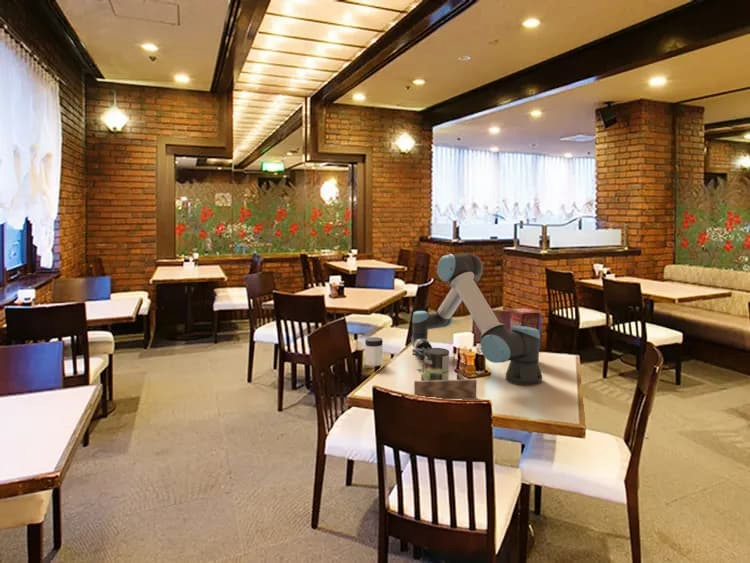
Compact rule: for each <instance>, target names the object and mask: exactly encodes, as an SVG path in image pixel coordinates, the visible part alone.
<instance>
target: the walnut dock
mask: <svg viewBox="0 0 750 563" xmlns="http://www.w3.org/2000/svg"><path fill="white" fill-rule="evenodd" d="M420 375H421V377H420V378H421V379H420V380H414V381H413V382H414V385H413V387H414V389H413V391H414V394H413V396H414V395H417V396H425V397H436V398H454V399H476V398H477V382H478V381H477V378H474V379H473V378H471V379H470V378H469V379H468V378H467V379H466V378H465V377H464V376H463V374H462V373H461V372H457V373H456V379H448V380H428V379H427V377H426V375H425V373H422V374H420Z"/></svg>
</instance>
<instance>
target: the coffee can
mask: <svg viewBox="0 0 750 563" xmlns="http://www.w3.org/2000/svg"><path fill="white" fill-rule="evenodd" d="M424 352H425V359H424V374H425V375H426V377H427V379H428V380H449V369H450V368H449V366H450V365H449V364H450V362H449V360H450V350H449V349H446V348H443V347H432V348H428V349H426V350H425V351H424Z"/></svg>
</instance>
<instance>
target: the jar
mask: <svg viewBox="0 0 750 563" xmlns="http://www.w3.org/2000/svg"><path fill="white" fill-rule="evenodd" d="M364 341H365V348H364V349H365V351H364V352H365V365H366V366H369V367H379V366H383V363H384V362H383V358H384V357H383V347H384V346H383V342H384V341H383V338H381V337H377V336H375V337H374V336H371V337H367V338H366V337H365V340H364Z"/></svg>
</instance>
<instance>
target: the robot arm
mask: <svg viewBox="0 0 750 563" xmlns="http://www.w3.org/2000/svg"><path fill="white" fill-rule="evenodd" d="M436 269H437V270H436V271H437V276H438V278H439V280H441V281H442V282H447V283H448V284H449V286H450V288H451V289H450V290H449V292H448V293H447V295H446V296H445V298H444V300H443V301H442V302H441V304H440V306H439V307H438V309H437V310H436V312H435V313H428V312H427V311H425V310H416V311H414V312H413V314H412V320H411V321H412V336H411V338H410V339H411V340H410V341H411V345H412V347H413V349H412V356H415V357H417V358H418V359H419V360H421V361H423V360H424V361H425V352H424V351H425V350H426V349H428V348H433V347H432V345H431V343H430V342H429V341H428V337H429V336H428V335H429V330H433V329H440V328H445V327H449V326H451V325H452V323H453V315H454V314H455V312H456V311H457V310H458V308H459V306H460V305H461V303H462V302H463V304H464V305H465V307H466V308H467V310H468V312H469V313H470V316H471V317H472V319H473V321H474V323H475V324H476V326H477V327H478V329H479V331H480V333H481V334H480V339H481V340H480V350H481V354H482V355H483V356H484V358H485V359H486V360H487V361H489V362H491V363H496V364H498V363H500V364H501V363H506V362H508V361H509V363H508V367H507V368H506V369H507V370H506V371H505V380H506V381H507V382H508V383H511V384H515V385H519V386H536V385H540V384H541V383H543V374H542V371H541V367H540V363H539V362H540V361H539V359H540V358H539V357H540V341H541V338H540V336H541V335H540V330H539V331H538V330H537V329H535V328H531V327H525V326H512V328H511V331H510V329H509V328H508V326H506V324H505V323H501V322H499V319H498V318H497V316H496V315H495V313H494V312H493V310H492V308H491V306H490V304H489V303H488V302H487V300H486V298H485V296H484V294H482V293H483V292H481V290H480V288H479V287H478V285H477V283H478V282H479V280H480V279H481V276H482V275H483V270H484V265H483V262H482V260H481V258H479V256H477V255H476V254H473V253H470V252H469V253H456V254H452V253H450V254H446V255H445V254H444V255H443V256H442V257H440V259H439V260H438V263H437V268H436Z"/></svg>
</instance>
